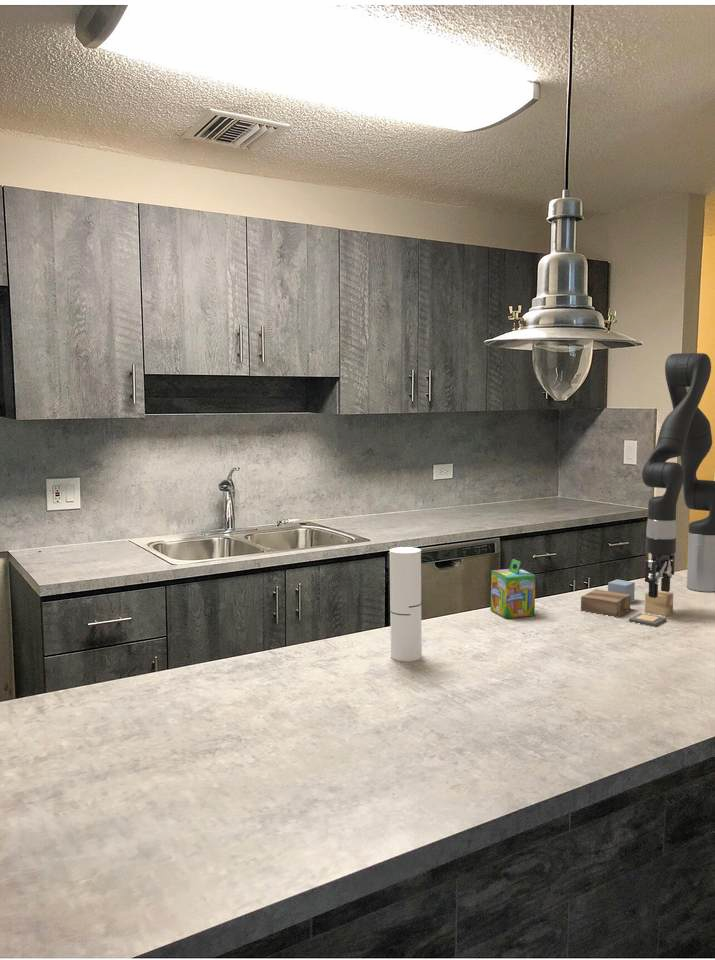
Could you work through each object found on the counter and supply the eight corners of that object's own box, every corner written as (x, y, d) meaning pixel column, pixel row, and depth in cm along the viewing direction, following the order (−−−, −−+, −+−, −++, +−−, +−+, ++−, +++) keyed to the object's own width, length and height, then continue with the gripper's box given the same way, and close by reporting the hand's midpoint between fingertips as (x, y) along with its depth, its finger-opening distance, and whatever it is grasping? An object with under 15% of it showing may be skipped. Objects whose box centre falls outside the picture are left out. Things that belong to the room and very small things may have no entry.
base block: (595, 604, 219) (595, 589, 218) (630, 610, 212) (630, 594, 212) (580, 612, 211) (581, 596, 211) (616, 618, 205) (616, 602, 204)
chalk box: (489, 610, 213) (489, 558, 212) (519, 607, 216) (519, 556, 215) (505, 619, 205) (506, 565, 203) (536, 616, 207) (536, 562, 206)
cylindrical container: (427, 658, 175) (426, 551, 172) (398, 663, 172) (397, 554, 170) (413, 649, 182) (412, 546, 179) (385, 653, 179) (384, 548, 176)
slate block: (616, 597, 225) (616, 579, 225) (634, 600, 221) (634, 582, 221) (607, 601, 221) (608, 582, 221) (626, 604, 217) (626, 585, 217)
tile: (640, 616, 206) (640, 612, 206) (666, 620, 201) (666, 617, 201) (628, 621, 201) (629, 618, 201) (655, 626, 196) (655, 623, 196)
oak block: (652, 609, 213) (653, 589, 212) (672, 612, 209) (673, 592, 208) (644, 613, 209) (645, 593, 208) (665, 617, 205) (665, 596, 204)
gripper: (657, 530, 214) (655, 587, 216) (636, 537, 204) (634, 597, 205) (685, 533, 209) (683, 592, 211) (664, 540, 199) (662, 601, 200)
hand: (659, 594), depth 208 cm, fingers open, 8 cm apart
